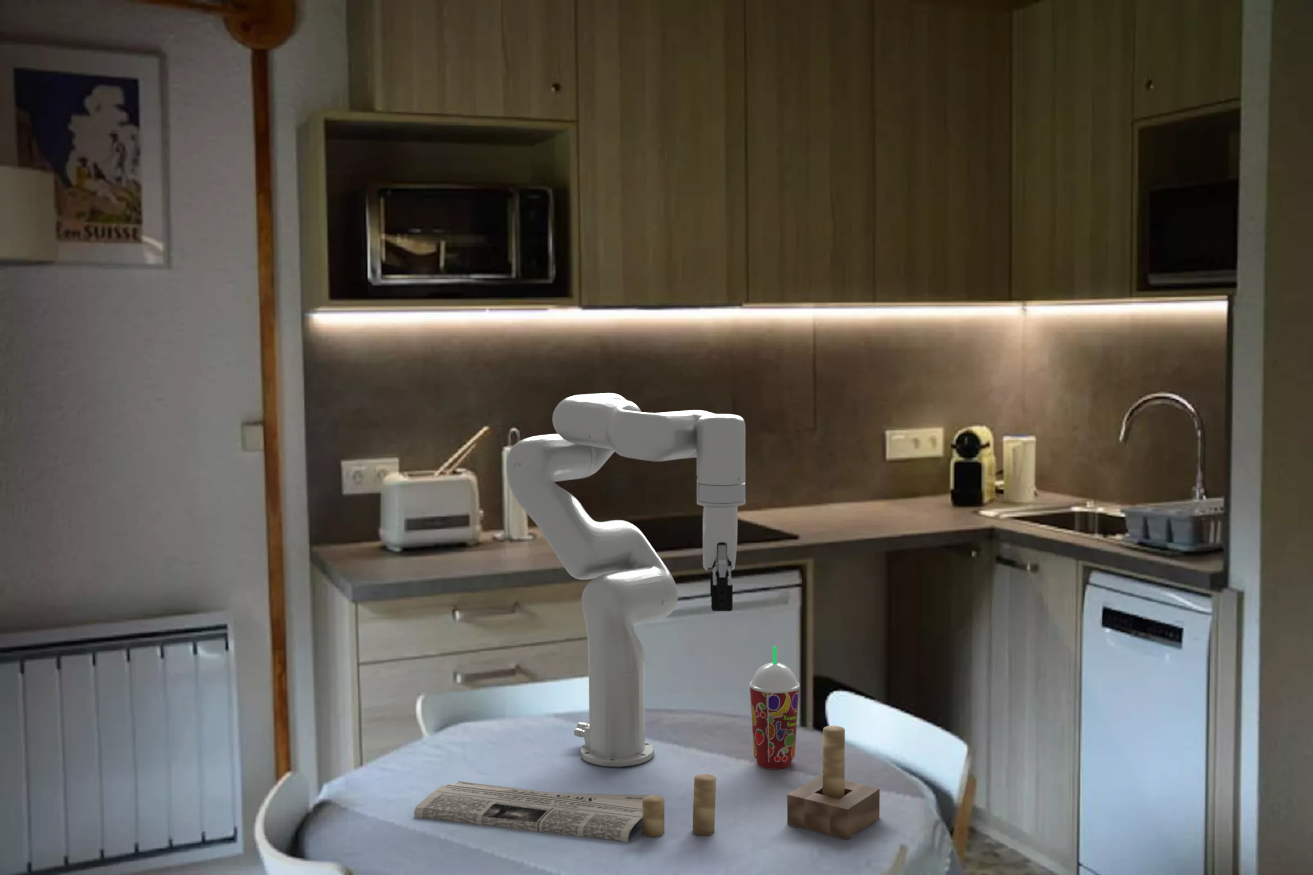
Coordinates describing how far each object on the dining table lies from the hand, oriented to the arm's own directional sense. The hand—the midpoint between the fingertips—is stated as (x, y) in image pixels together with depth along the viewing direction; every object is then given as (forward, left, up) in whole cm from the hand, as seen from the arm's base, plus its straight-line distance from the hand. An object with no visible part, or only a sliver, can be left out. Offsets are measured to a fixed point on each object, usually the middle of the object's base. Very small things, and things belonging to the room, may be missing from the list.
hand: (721, 603), depth 202 cm
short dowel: (+1, -19, -30) cm, 36 cm away
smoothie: (0, +16, -31) cm, 34 cm away
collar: (+20, 0, -30) cm, 36 cm away
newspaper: (-17, -24, -31) cm, 43 cm away
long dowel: (+20, 0, -30) cm, 36 cm away
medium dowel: (+7, -15, -30) cm, 34 cm away
